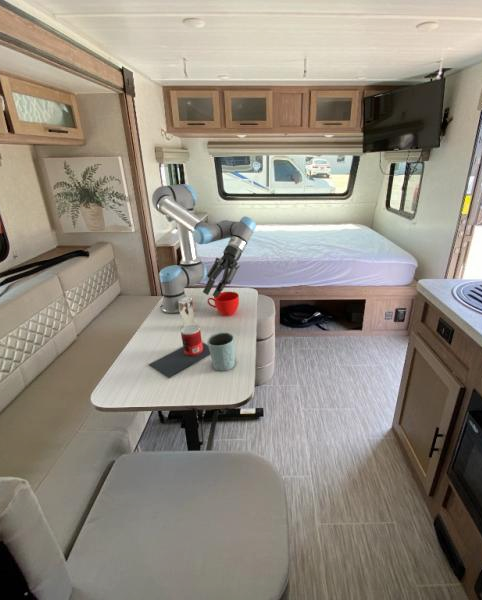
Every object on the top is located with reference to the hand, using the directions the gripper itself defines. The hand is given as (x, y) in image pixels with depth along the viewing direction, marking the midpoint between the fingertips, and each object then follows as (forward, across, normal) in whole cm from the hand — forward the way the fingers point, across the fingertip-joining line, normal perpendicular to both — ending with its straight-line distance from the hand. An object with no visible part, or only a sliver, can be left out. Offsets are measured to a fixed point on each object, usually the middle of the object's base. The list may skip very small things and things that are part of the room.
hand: (210, 295), depth 138 cm
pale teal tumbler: (+24, +17, +8) cm, 31 cm away
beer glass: (+16, -20, +16) cm, 30 cm away
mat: (+28, 0, +4) cm, 28 cm away
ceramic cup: (+1, -18, +31) cm, 36 cm away
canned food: (+24, 0, +7) cm, 25 cm away
